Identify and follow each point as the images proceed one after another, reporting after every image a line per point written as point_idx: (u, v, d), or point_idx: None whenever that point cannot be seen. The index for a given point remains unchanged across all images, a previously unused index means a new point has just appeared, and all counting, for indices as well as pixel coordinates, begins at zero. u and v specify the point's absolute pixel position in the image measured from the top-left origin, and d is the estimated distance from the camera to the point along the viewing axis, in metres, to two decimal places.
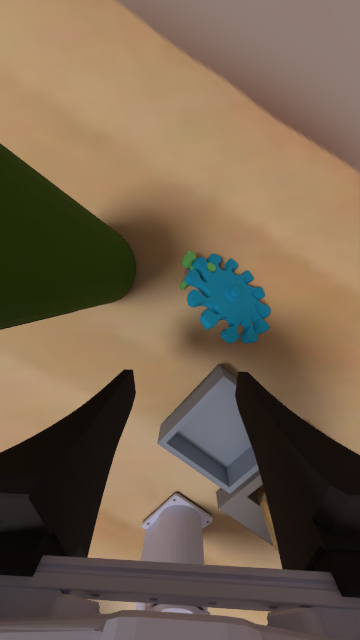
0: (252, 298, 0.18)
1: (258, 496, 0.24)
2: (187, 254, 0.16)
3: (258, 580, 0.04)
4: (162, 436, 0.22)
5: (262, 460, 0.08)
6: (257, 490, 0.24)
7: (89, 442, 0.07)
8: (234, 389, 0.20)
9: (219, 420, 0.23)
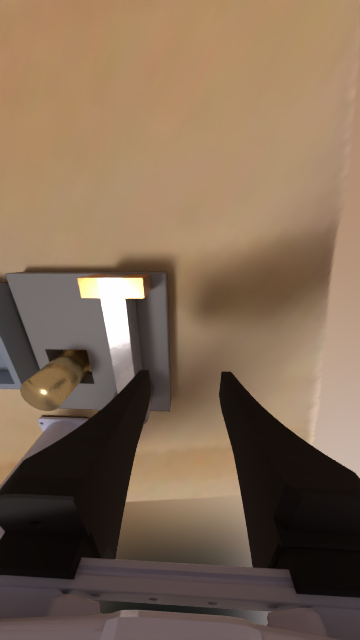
0: None
1: None
2: None
3: (258, 580, 0.04)
4: None
5: (238, 459, 0.08)
6: None
7: (117, 443, 0.07)
8: None
9: None
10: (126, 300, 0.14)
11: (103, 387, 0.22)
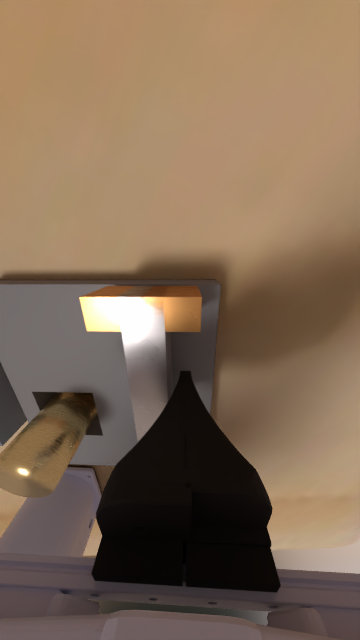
0: None
1: None
2: None
3: (258, 580, 0.04)
4: None
5: None
6: None
7: None
8: None
9: None
10: (166, 335, 0.08)
11: (116, 440, 0.15)
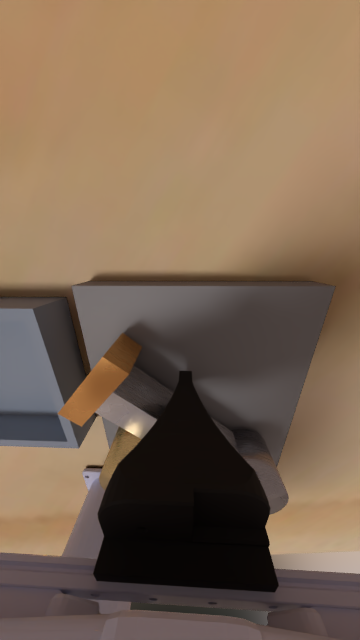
0: None
1: None
2: None
3: (258, 580, 0.04)
4: None
5: None
6: None
7: None
8: None
9: None
10: (120, 390, 0.10)
11: None
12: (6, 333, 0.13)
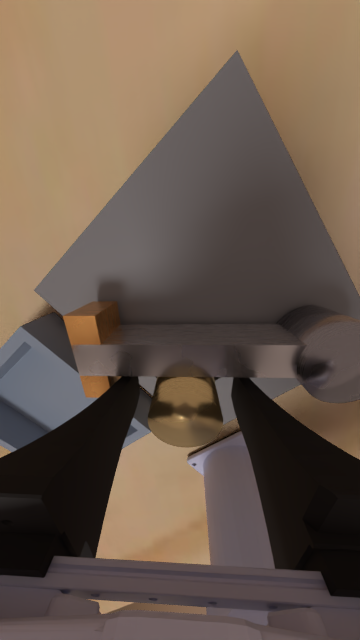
0: None
1: None
2: None
3: (258, 580, 0.04)
4: None
5: (256, 460, 0.08)
6: None
7: (97, 442, 0.07)
8: None
9: (60, 402, 0.17)
10: (110, 341, 0.09)
11: None
12: (42, 371, 0.15)
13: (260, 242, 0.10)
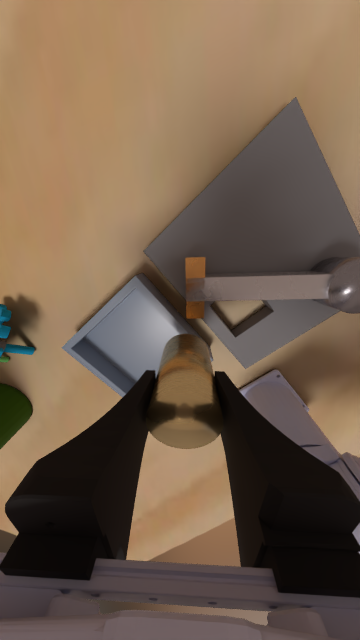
0: None
1: None
2: None
3: (258, 580, 0.04)
4: None
5: (229, 459, 0.08)
6: None
7: (127, 443, 0.07)
8: (75, 340, 0.19)
9: (137, 346, 0.22)
10: (208, 276, 0.14)
11: (286, 309, 0.18)
12: (128, 319, 0.21)
13: (301, 213, 0.15)
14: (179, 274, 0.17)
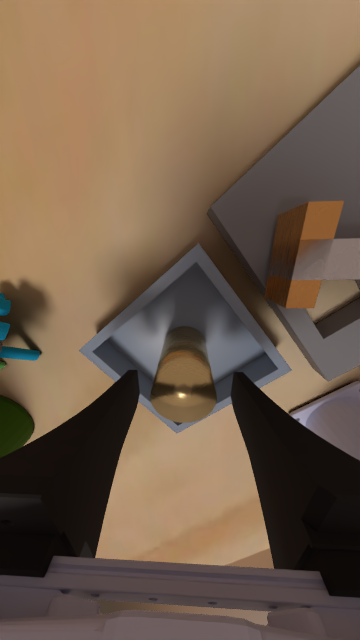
0: None
1: None
2: None
3: (258, 581, 0.04)
4: (170, 425, 0.17)
5: (255, 460, 0.08)
6: None
7: (96, 442, 0.07)
8: (99, 340, 0.14)
9: None
10: (334, 239, 0.09)
11: None
12: (170, 312, 0.15)
13: None
14: (260, 244, 0.12)
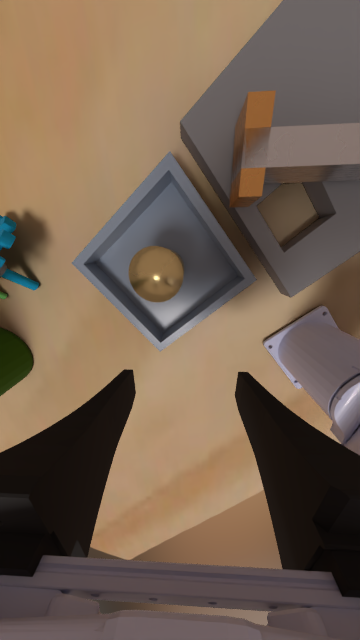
0: None
1: None
2: None
3: (258, 580, 0.04)
4: (154, 344, 0.19)
5: (262, 460, 0.08)
6: None
7: (89, 442, 0.07)
8: (89, 251, 0.16)
9: None
10: (273, 130, 0.11)
11: (351, 209, 0.15)
12: (152, 235, 0.17)
13: None
14: (223, 157, 0.14)
